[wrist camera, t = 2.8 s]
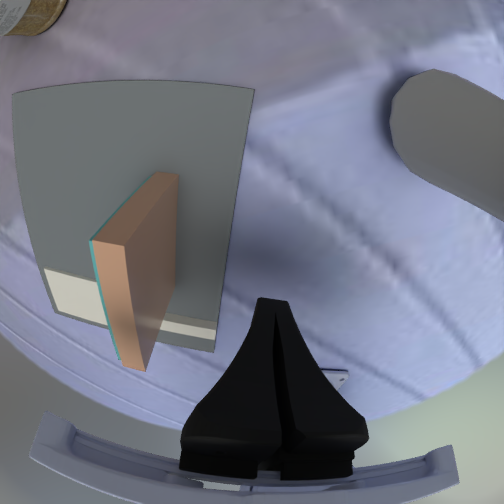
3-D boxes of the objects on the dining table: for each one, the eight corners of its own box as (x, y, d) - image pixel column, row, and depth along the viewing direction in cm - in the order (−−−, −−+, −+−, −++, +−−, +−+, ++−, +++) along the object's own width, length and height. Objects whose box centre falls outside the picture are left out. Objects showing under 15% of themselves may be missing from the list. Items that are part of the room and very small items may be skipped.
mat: (214, 349, 24) (213, 352, 23) (56, 310, 23) (55, 312, 22) (254, 89, 12) (254, 89, 12) (16, 93, 12) (12, 94, 11)
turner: (219, 304, 20) (218, 312, 19) (214, 346, 23) (213, 353, 22) (45, 266, 19) (40, 272, 18) (59, 308, 22) (56, 314, 21)
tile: (175, 286, 19) (145, 371, 13) (153, 281, 19) (118, 364, 13) (179, 174, 15) (124, 246, 9) (151, 171, 15) (85, 238, 9)
